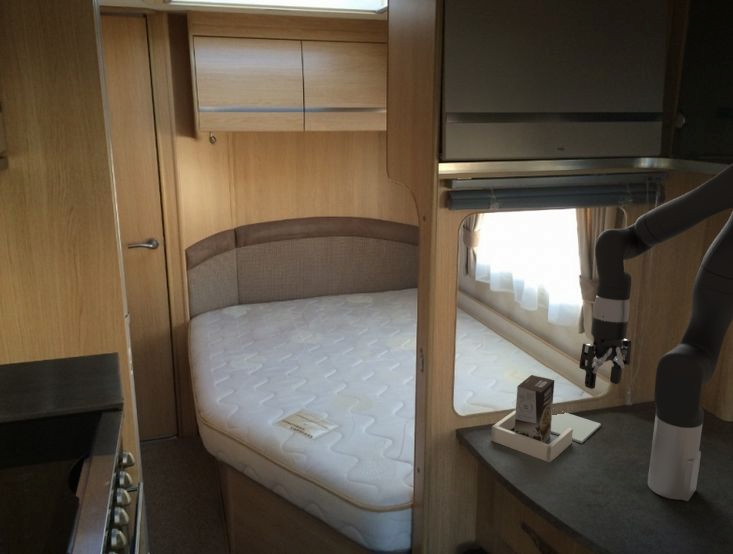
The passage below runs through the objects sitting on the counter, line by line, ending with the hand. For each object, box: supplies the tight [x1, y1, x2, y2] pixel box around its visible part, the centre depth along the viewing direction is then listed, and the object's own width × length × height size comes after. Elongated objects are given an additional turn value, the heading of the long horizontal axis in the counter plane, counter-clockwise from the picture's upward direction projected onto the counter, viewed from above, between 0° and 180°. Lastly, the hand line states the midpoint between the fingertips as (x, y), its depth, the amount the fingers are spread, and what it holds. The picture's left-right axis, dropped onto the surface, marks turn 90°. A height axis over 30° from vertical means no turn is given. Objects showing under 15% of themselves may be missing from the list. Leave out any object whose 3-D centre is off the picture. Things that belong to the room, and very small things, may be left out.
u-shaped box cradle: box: [490, 409, 573, 463], centre depth 164 cm, size 16×12×4 cm
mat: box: [551, 412, 602, 444], centre depth 173 cm, size 14×12×1 cm
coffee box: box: [513, 374, 555, 443], centre depth 163 cm, size 9×6×16 cm
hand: (602, 385), depth 150 cm, fingers open, 8 cm apart
